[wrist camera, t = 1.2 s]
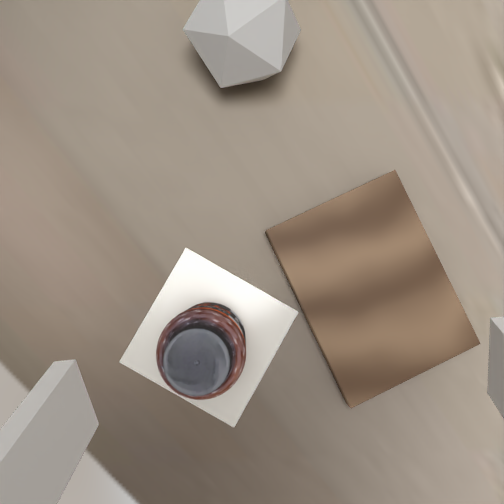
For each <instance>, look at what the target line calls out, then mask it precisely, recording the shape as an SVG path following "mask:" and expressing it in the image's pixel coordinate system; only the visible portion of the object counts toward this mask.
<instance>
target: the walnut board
mask: <svg viewBox="0 0 504 504" xmlns="http://www.w3.org/2000/svg"><path fill="white" fill-rule="evenodd" d="M265 233H266V235H267V238H268V240H269V242H270V244H271V246H272V248H273V250H274V252H275V254H276V256H277V259H278V261H279V263H280V265H281V267H282V269H283V271H284V273H285V275H286V277H287V280H288V282H289V284H290V286H291V288H292V290H293V292H294V294H295V296H296V299H297V301H298V303H299V305H300V307H301V309H302V311H303V313H304V315H305V317H306V320H307V322H308V324H309V326H310V328H311V330H312V332H313V334H314V336H315V338H316V341H317V343H318V345H319V347H320V349H321V351H322V353H323V355H324V357H325V359H326V362H327V364H328V366H329V368H330V370H331V372H332V374H333V376H334V378H335V380H336V383H337V385H338V387H339V389H340V391H341V393H342V395H343V397H344V399H345V401H346V403H347V405H348V406H349V407H350V408H353V407H355V406H357V405H359V404H361V403H363V402H365V401H367V400H369V399H371V398H373V397H375V396H377V395H379V394H381V393H383V392H385V391H387V390H389V389H391V388H393V387H395V386H397V385H399V384H401V383H403V382H405V381H407V380H409V379H411V378H413V377H415V376H417V375H419V374H421V373H423V372H425V371H427V370H429V369H431V368H433V367H435V366H437V365H439V364H441V363H443V362H445V361H447V360H449V359H451V358H453V357H455V356H457V355H459V354H461V353H463V352H465V351H467V350H469V349H471V348H473V347H475V346H477V345H479V344H480V342H479V340H478V338H477V336H476V334H475V332H474V330H473V328H472V325H471V323H470V321H469V319H468V317H467V315H466V313H465V311H464V309H463V307H462V305H461V303H460V301H459V299H458V297H457V295H456V293H455V291H454V289H453V287H452V285H451V283H450V281H449V279H448V277H447V275H446V273H445V270H444V268H443V266H442V264H441V262H440V260H439V258H438V256H437V254H436V252H435V250H434V248H433V246H432V244H431V242H430V240H429V238H428V236H427V234H426V232H425V230H424V228H423V226H422V224H421V222H420V220H419V218H418V215H417V213H416V211H415V209H414V207H413V205H412V203H411V201H410V199H409V197H408V195H407V193H406V191H405V189H404V187H403V185H402V183H401V181H400V179H399V177H398V175H397V173H396V171H395V170H394V171H392V172H389V173H387V174H385V175H383V176H381V177H379V178H377V179H375V180H372V181H370V182H368V183H366V184H364V185H362V186H360V187H357V188H355V189H353V190H351V191H349V192H347V193H345V194H343V195H340V196H338V197H336V198H334V199H332V200H330V201H328V202H325V203H323V204H321V205H319V206H317V207H315V208H313V209H311V210H308V211H306V212H304V213H302V214H300V215H298V216H296V217H294V218H291V219H289V220H287V221H285V222H283V223H281V224H279V225H276V226H274V227H272V228H270V229H268V230H266V231H265Z"/></svg>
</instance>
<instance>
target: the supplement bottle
mask: <svg viewBox="0 0 504 504" xmlns="http://www.w3.org/2000/svg"><path fill="white" fill-rule="evenodd" d="M156 361H157V366H158V370H159V372H160V375H161V377H162V378H163V380H164V381H165V383H166V384H167V385H168V386H169V388H171V389H172V390H173V391H174V392H176V393H177V394H179V395H181V396H183V397H186V398H189V399H195V400H205V399H211V398H215V397H217V396H219V395H221V394H223V393H225V392H226V391H228V390H229V389H230V388H231V387H232V386H233V385H234V384H235V383H236V381H237V380H238V378H239V377H240V375H241V373H242V371H243V368H244V365H245V361H246V336H245V330H244V326H243V324H242V322H241V320H240V318H239V317H238V316H237V315H236V314H235V313H234V312H233V311H232V310H231V309H230V308H228V307H226V306H224V305H222V304H219V303H213V302H204V303H200V304H196V305H194V306H192V307H191V308H189V309H187V310H185V311H184V312H182V313H180V314H178V315H177V316H176V317H175V318H173V319H172V320H171V321H170V322H169V323H168V324H167V325H166V327H165V328H164V330H163V331H162V333H161V335H160V337H159V340H158V344H157V349H156Z"/></svg>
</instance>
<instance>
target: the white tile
mask: <svg viewBox="0 0 504 504" xmlns="http://www.w3.org/2000/svg"><path fill="white" fill-rule="evenodd" d="M204 302H213V303H219V304H222V305H224V306H226V307H228V308H230V309H231V310H232V311H233V312H234V313H235V314H236V315H237V316H238V317H239V318H240V320H241V322H242V324H243V326H244V330H245V336H246V361H245V365H244V368H243V371H242V373H241V375H240V377H239V378H238V380H237V381H236V383H235V384H234V385H233V386H232V387H231V388H230V389H229V390H228V391H226V392H225V393H223V394H221V395H219V396H217V397H215V398H211V399H205V400H195V399H189V398H186V397H183V396H181V395H179V394H177V393H176V392H174V391H173V390H172V389H171V388H169V386H168V385H167V384H166V383H165V381H164V380H163V378H162V377H161V375H160V372H159V370H158V366H157V361H156V349H157V344H158V340H159V337H160V335H161V333H162V331H163V330H164V328H165V327H166V325H167V324H168V323H169V322H170V321H171V320H172V319H173V318H175V317H176V316H177V315H178V314H180V313H182V312H184V311H185V310H187V309H189V308H191V307H192V306H194V305H196V304H200V303H204ZM297 314H298V311H296V310H294V309H293V308H291V307H289V306H287V305H286V304H284V303H282V302H280V301H279V300H277V299H275V298H273V297H272V296H270V295H268V294H266V293H265V292H263V291H261V290H259V289H258V288H256V287H254V286H252V285H251V284H249V283H247V282H245V281H244V280H242V279H240V278H238V277H237V276H235V275H233V274H231V273H230V272H228V271H226V270H224V269H223V268H221V267H219V266H217V265H216V264H214V263H212V262H210V261H209V260H207V259H205V258H203V257H202V256H200V255H198V254H196V253H194V252H193V251H191V250H189V249H187V248H185V250H184V252H183V254H182V255H181V257H180V259H179V260H178V262H177V264H176V266H175V267H174V269H173V271H172V272H171V274H170V276H169V278H168V279H167V281H166V283H165V284H164V286H163V288H162V290H161V291H160V293H159V295H158V296H157V298H156V300H155V302H154V303H153V305H152V307H151V308H150V310H149V312H148V314H147V315H146V317H145V319H144V320H143V322H142V324H141V326H140V327H139V329H138V331H137V332H136V334H135V336H134V338H133V339H132V341H131V343H130V344H129V346H128V348H127V350H126V351H125V353H124V355H123V356H122V358H121V360H120V363H121V364H123V365H125V366H127V367H128V368H130V369H132V370H134V371H135V372H137V373H139V374H141V375H142V376H144V377H146V378H148V379H150V380H151V381H153V382H155V383H157V384H158V385H160V386H162V387H164V388H165V389H167V390H169V391H171V392H172V393H174V394H176V395H178V396H179V397H181V398H183V399H185V400H186V401H188V402H190V403H192V404H193V405H195V406H197V407H199V408H200V409H202V410H204V411H206V412H207V413H209V414H211V415H213V416H214V417H216V418H218V419H220V420H221V421H223V422H225V423H227V424H228V425H230V426H232V427H235V425H236V423H237V422H238V420H239V418H240V416H241V414H242V413H243V411H244V409H245V407H246V405H247V404H248V402H249V400H250V398H251V396H252V395H253V393H254V391H255V389H256V388H257V386H258V384H259V382H260V380H261V379H262V377H263V375H264V373H265V371H266V370H267V368H268V366H269V364H270V362H271V361H272V359H273V357H274V355H275V353H276V352H277V350H278V348H279V346H280V344H281V343H282V341H283V339H284V337H285V335H286V334H287V332H288V330H289V328H290V326H291V325H292V323H293V321H294V319H295V317H296V316H297Z"/></svg>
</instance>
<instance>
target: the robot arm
mask: <svg viewBox="0 0 504 504" xmlns="http://www.w3.org/2000/svg"><path fill="white" fill-rule="evenodd" d="M487 393H488V395H489V396H490V398H491V399H492V401H493V402H494V404H495V406H496V407H497V409H498V410H499V412H500V414H501V415H502V417H503V418H504V316H503V317H493V318H490V335H489V362H488V389H487ZM98 425H99V423H98V420H97V417H96V414H95V412H94V409H93V406H92V403H91V401H90V398H89V395H88V392H87V390H86V387H85V384H84V381H83V379H82V376H81V373H80V370H79V368H78V365H77V362H76V359H75V360H65V361H55V362H53V364H52V365H51V366H50V367H49V369H48V370H47V371H46V372H45V374H44V375H43V376H42V377H41V379H40V380H39V381H38V382H37V384H36V385H35V386H34V387H33V389H32V390H31V391H30V392H29V394H28V395H27V396H26V398H25V399H24V400H23V401H22V402H21V404H20V405H19V406H18V407H17V409H16V410H15V411H14V412H13V414H12V415H11V416H10V418H9V419H8V420H7V421H6V423H5V424H4V425H3V426H2V427H1V429H0V504H57V503H58V501H59V499H60V497H61V495H62V493H63V491H64V490H65V488H66V486H67V484H68V482H69V480H70V478H71V476H72V474H73V472H74V471H75V469H76V467H77V465H78V463H79V461H80V459H81V457H82V455H83V454H84V452H85V450H86V448H87V446H88V444H89V442H90V440H91V438H92V437H93V435H94V433H95V431H96V429H97V427H98Z"/></svg>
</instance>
